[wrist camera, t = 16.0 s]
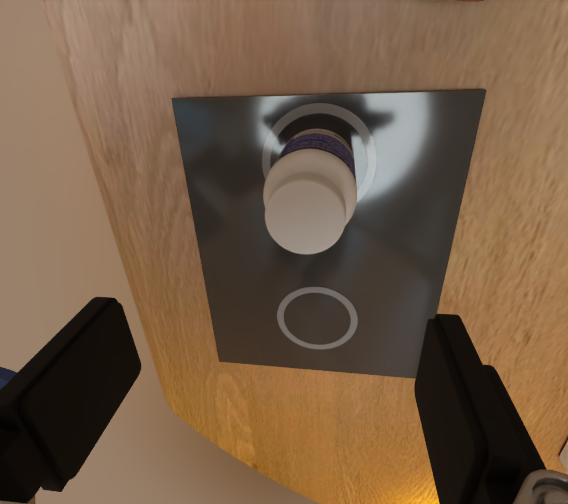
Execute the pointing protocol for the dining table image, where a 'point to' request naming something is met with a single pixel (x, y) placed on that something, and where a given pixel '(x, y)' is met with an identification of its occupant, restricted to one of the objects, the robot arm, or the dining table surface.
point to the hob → (356, 235)
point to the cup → (564, 457)
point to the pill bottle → (310, 192)
